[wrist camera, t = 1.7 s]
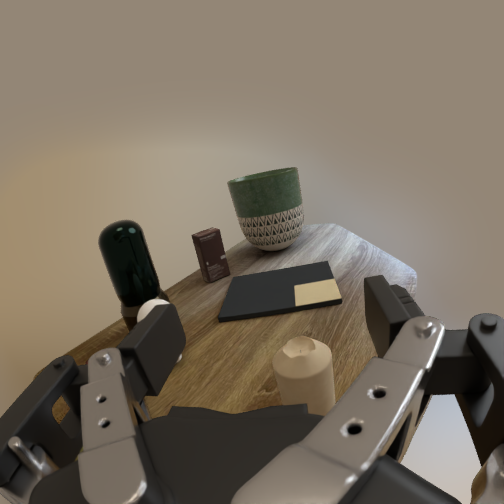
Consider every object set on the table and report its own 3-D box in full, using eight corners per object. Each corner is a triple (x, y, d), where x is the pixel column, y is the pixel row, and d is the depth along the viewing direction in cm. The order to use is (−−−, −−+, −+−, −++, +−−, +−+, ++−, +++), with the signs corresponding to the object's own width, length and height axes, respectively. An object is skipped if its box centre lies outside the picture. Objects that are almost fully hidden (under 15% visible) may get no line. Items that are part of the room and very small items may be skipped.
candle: (341, 424, 26) (337, 355, 23) (290, 437, 26) (273, 371, 23) (328, 390, 31) (321, 322, 28) (283, 402, 31) (266, 335, 28)
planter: (232, 262, 82) (213, 186, 75) (260, 238, 98) (246, 175, 92) (300, 259, 73) (283, 173, 66) (317, 234, 89) (304, 164, 83)
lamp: (126, 334, 54) (86, 230, 48) (165, 314, 60) (131, 213, 53) (143, 351, 47) (96, 232, 40) (186, 327, 53) (149, 212, 46)
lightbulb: (164, 351, 46) (140, 294, 43) (198, 349, 45) (175, 289, 42) (153, 375, 40) (124, 314, 37) (189, 373, 40) (162, 309, 36)
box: (211, 283, 71) (197, 236, 67) (203, 279, 74) (190, 234, 71) (232, 274, 73) (219, 228, 70) (223, 270, 77) (211, 226, 74)
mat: (328, 264, 66) (327, 260, 65) (342, 303, 49) (341, 297, 48) (234, 280, 69) (233, 276, 69) (219, 322, 52) (217, 317, 52)
